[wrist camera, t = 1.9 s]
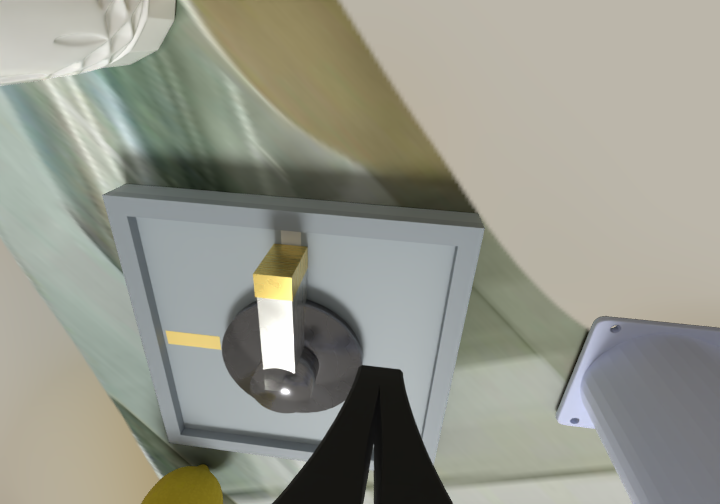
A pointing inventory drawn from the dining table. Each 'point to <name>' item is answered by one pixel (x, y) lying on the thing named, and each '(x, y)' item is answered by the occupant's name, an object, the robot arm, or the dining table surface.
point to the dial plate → (324, 286)
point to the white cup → (77, 35)
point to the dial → (290, 341)
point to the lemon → (186, 487)
